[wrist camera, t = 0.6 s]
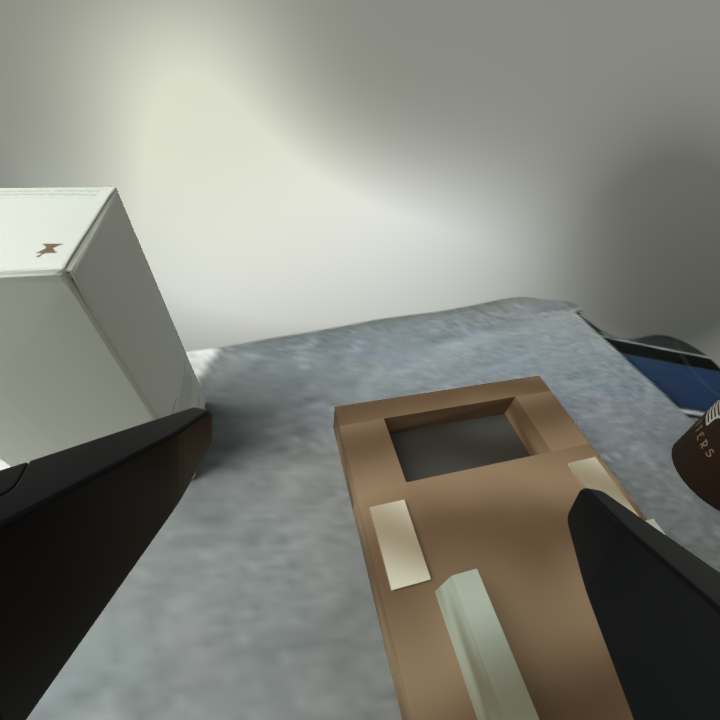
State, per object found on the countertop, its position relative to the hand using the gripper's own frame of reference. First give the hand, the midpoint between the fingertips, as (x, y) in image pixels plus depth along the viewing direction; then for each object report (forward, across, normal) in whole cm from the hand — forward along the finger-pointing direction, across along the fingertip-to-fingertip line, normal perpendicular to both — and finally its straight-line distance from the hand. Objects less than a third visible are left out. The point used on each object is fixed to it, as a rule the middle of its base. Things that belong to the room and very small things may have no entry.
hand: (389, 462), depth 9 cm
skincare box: (+11, +15, +12) cm, 22 cm away
